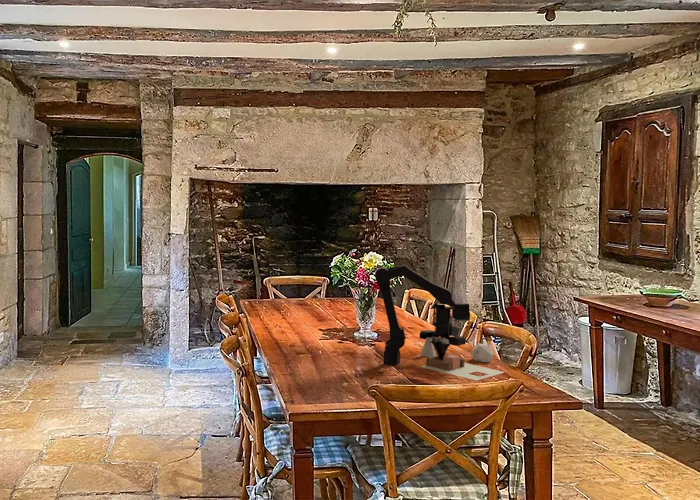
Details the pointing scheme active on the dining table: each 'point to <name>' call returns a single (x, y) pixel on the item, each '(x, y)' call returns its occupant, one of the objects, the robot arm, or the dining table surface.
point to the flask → (428, 348)
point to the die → (482, 353)
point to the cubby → (441, 363)
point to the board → (468, 371)
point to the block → (453, 361)
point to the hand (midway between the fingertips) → (441, 359)
